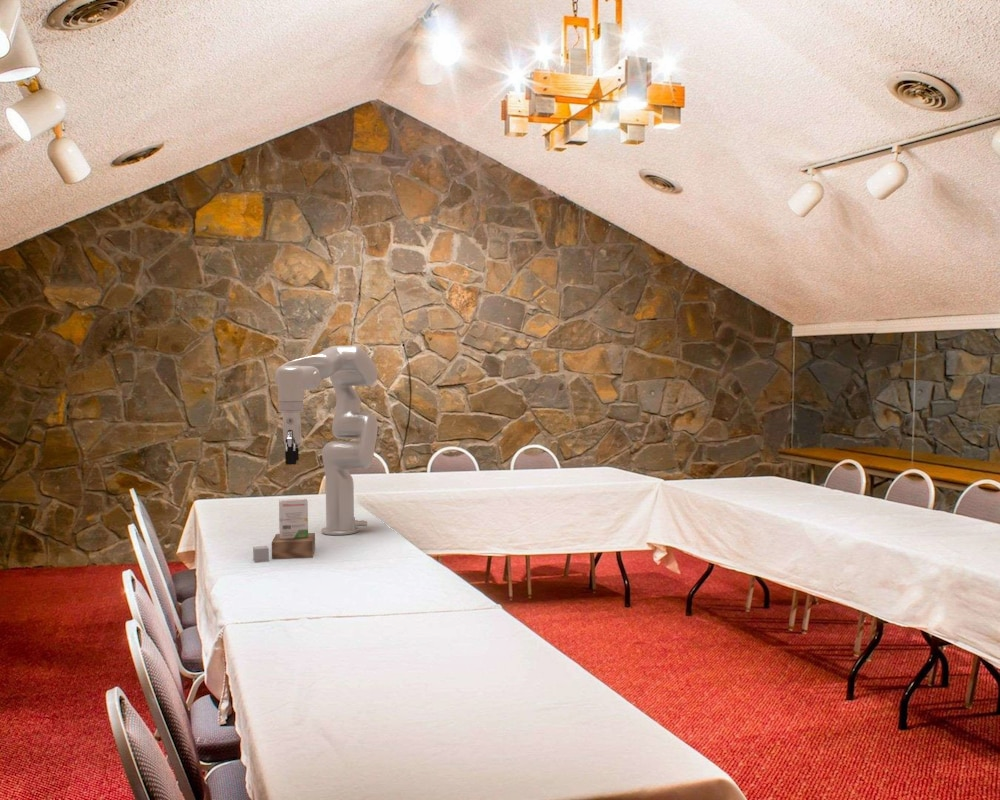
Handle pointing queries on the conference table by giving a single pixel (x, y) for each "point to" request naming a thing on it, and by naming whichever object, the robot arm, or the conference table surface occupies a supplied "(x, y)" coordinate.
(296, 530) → the ink box
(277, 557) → the walnut base block
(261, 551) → the slate cube
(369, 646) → the conference table surface
